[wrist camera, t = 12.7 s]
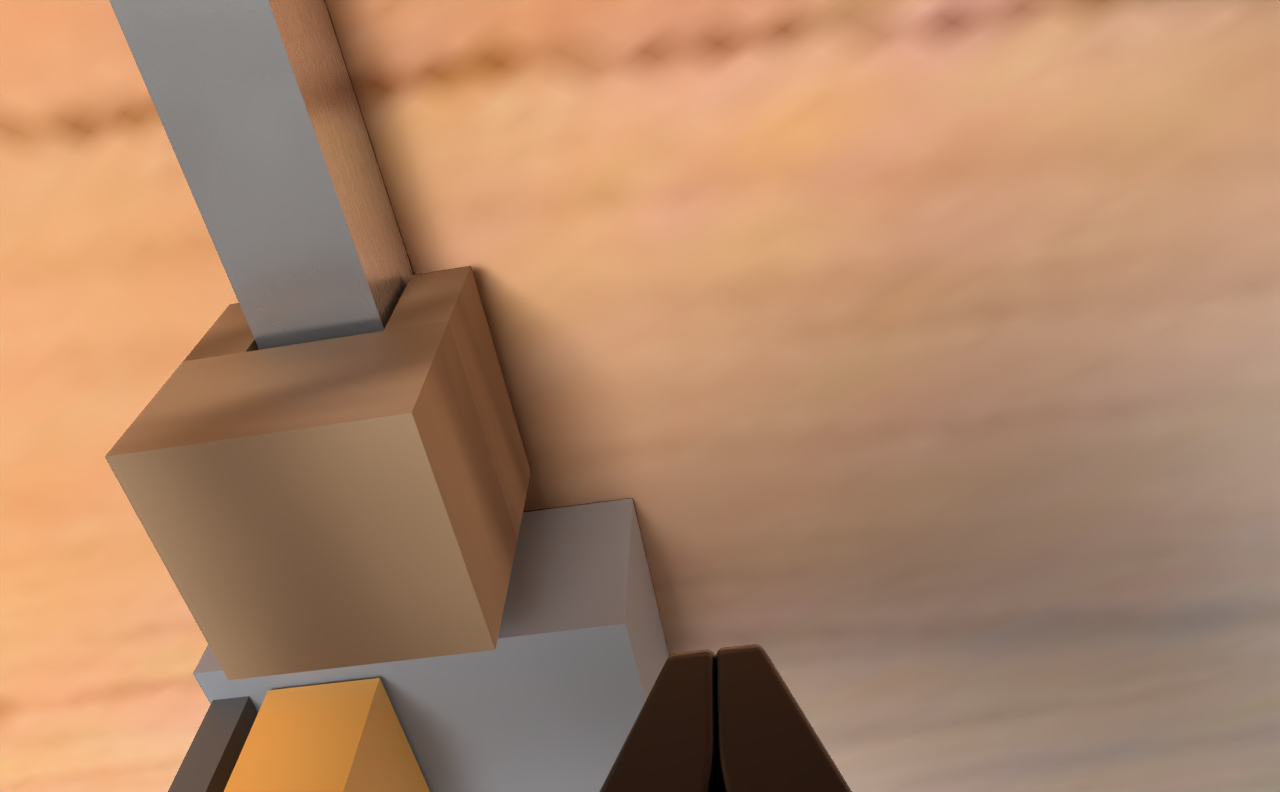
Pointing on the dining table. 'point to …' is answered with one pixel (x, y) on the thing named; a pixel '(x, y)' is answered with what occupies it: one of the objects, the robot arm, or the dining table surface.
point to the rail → (274, 160)
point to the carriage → (337, 487)
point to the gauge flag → (327, 743)
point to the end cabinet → (501, 672)
